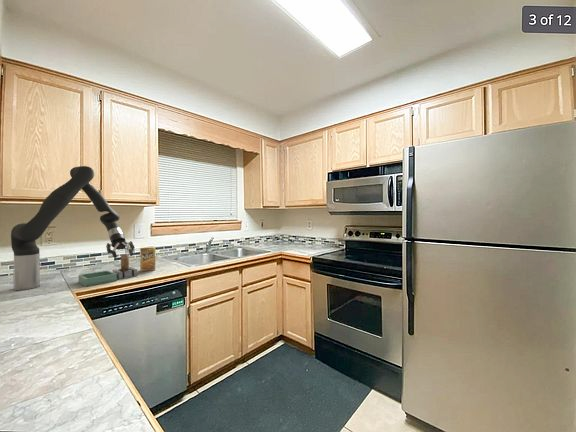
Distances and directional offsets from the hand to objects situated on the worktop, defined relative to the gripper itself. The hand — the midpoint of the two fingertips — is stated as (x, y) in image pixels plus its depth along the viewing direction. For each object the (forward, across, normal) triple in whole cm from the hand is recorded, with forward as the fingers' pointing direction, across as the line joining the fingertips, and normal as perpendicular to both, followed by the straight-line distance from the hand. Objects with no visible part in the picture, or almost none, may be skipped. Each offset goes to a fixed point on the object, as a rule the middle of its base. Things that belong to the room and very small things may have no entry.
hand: (123, 256), depth 154 cm
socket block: (+10, 0, +7) cm, 12 cm away
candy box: (+6, +16, +12) cm, 21 cm away
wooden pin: (+10, 0, +7) cm, 12 cm away
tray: (+10, -14, +7) cm, 19 cm away
